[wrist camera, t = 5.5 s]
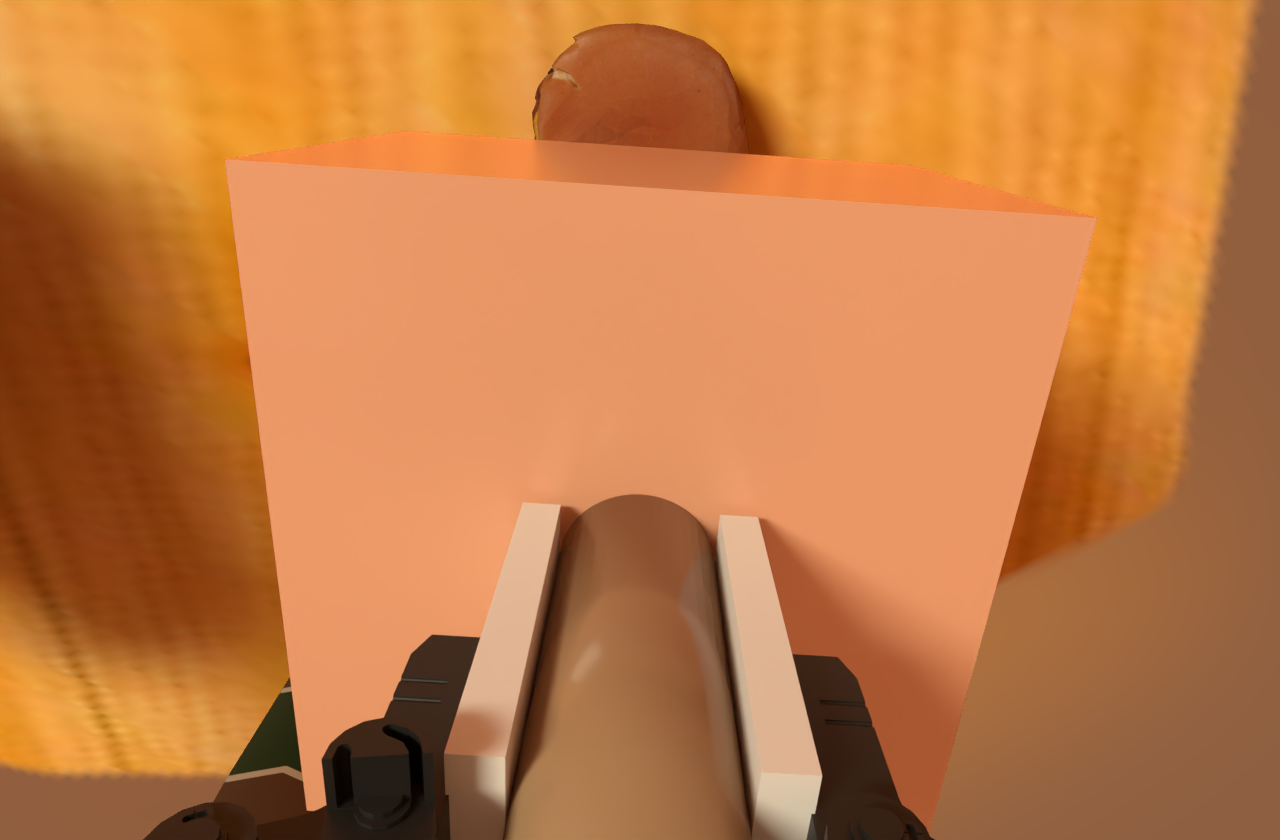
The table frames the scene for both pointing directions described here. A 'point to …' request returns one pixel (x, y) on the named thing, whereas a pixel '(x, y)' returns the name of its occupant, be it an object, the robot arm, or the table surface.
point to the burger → (641, 92)
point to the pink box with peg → (642, 436)
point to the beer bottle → (270, 768)
